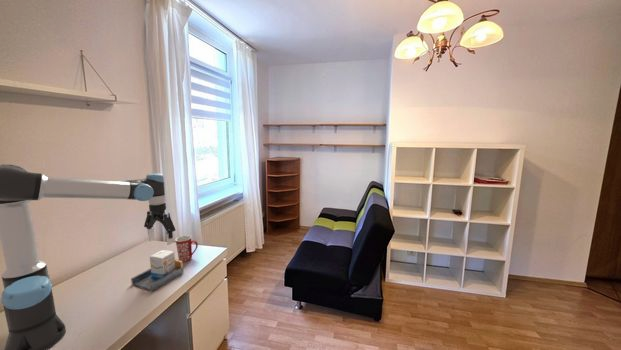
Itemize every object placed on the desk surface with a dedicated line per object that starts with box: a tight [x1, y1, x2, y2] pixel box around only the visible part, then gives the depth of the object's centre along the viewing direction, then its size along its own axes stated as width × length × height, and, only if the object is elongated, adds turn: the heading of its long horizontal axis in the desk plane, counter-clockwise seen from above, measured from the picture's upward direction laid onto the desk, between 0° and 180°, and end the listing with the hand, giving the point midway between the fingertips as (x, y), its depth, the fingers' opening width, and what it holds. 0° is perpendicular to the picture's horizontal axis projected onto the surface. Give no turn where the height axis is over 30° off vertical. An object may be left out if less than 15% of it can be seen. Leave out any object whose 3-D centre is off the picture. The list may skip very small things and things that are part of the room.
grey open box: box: [130, 258, 184, 292], centre depth 133 cm, size 18×15×7 cm
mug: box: [174, 234, 199, 263], centre depth 154 cm, size 13×9×14 cm
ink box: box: [149, 249, 176, 278], centre depth 135 cm, size 9×8×12 cm
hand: (160, 242), depth 134 cm, fingers open, 13 cm apart
